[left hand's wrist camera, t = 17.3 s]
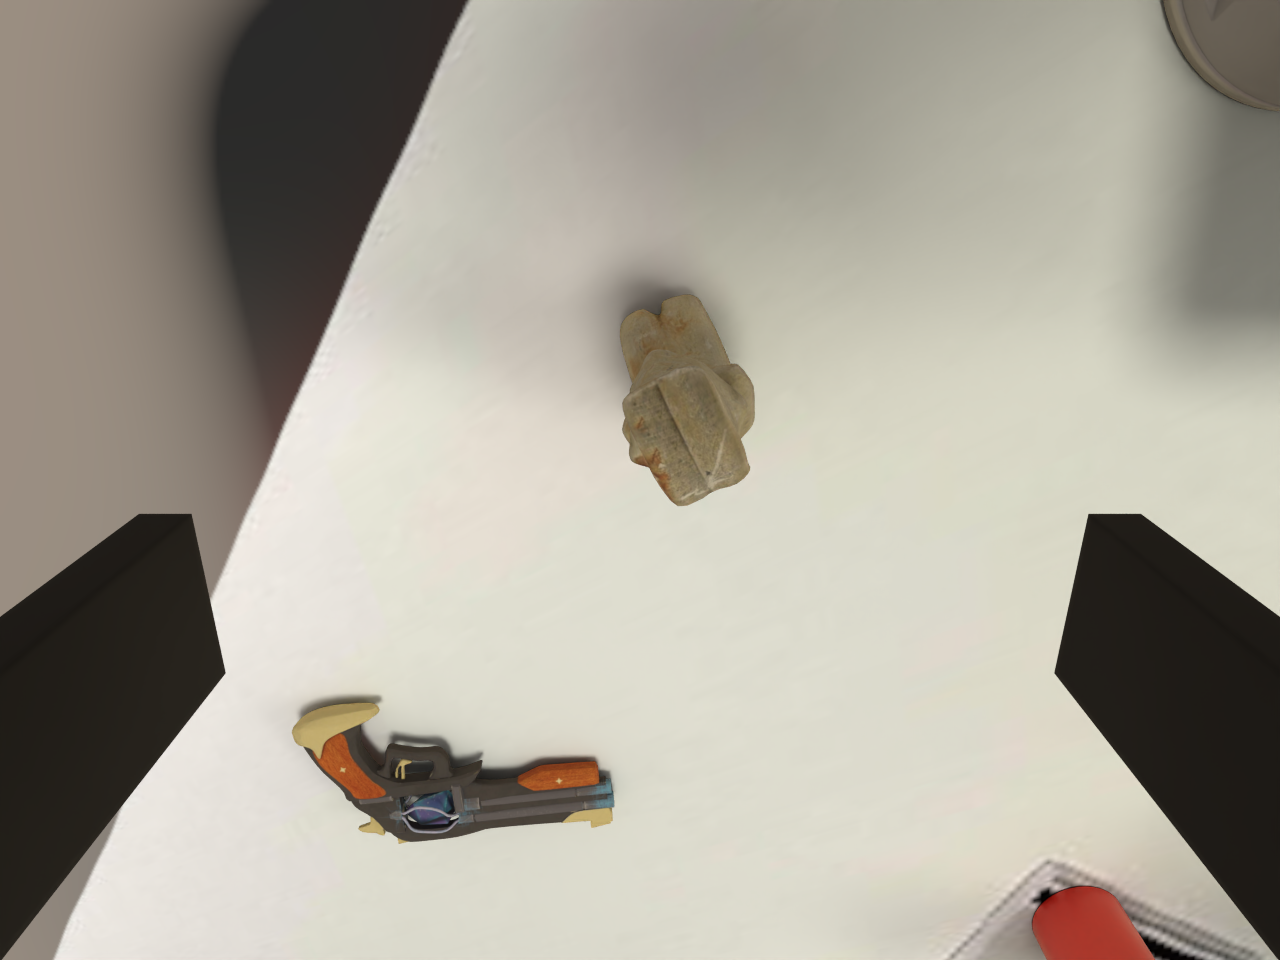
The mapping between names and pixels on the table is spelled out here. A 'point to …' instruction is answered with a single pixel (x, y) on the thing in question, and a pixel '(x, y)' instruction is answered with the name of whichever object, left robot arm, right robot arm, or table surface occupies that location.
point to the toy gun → (444, 784)
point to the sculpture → (684, 401)
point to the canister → (1087, 927)
